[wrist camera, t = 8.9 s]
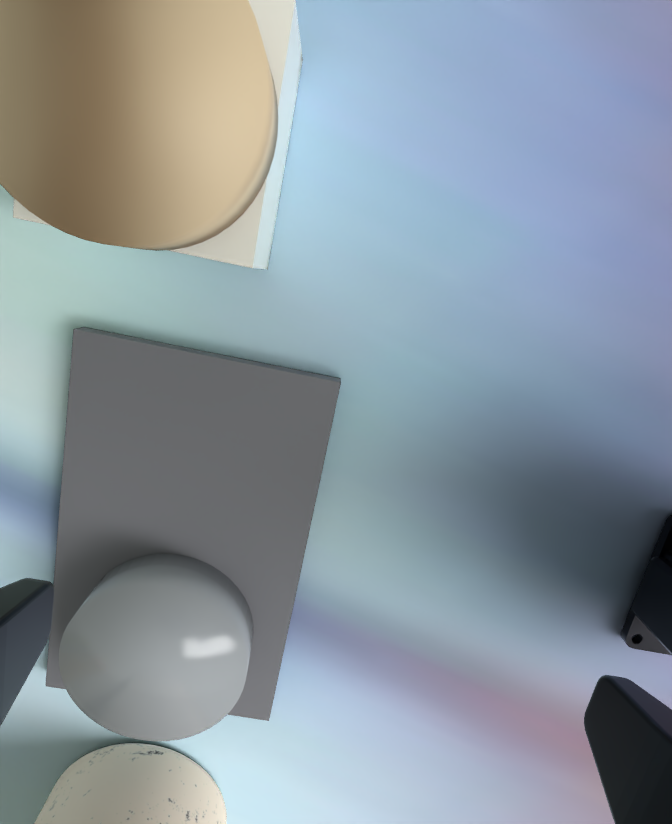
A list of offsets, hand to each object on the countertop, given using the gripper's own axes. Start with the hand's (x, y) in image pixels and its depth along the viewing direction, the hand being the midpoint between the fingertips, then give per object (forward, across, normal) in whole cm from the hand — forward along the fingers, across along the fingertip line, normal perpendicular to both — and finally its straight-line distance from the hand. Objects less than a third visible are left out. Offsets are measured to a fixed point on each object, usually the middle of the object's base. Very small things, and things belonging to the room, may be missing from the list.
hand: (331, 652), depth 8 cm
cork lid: (+9, +7, -9) cm, 14 cm away
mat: (+13, +5, +6) cm, 15 cm away
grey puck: (+12, +5, +10) cm, 17 cm away
